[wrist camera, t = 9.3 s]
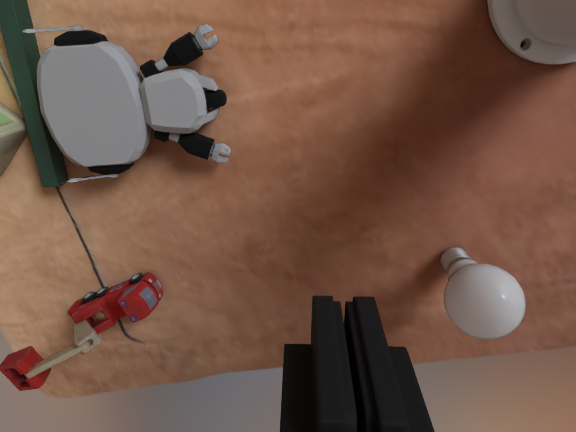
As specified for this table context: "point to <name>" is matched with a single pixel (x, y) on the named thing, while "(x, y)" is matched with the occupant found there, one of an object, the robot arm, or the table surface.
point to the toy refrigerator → (10, 135)
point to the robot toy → (124, 100)
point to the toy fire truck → (87, 327)
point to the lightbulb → (481, 296)
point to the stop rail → (30, 89)
